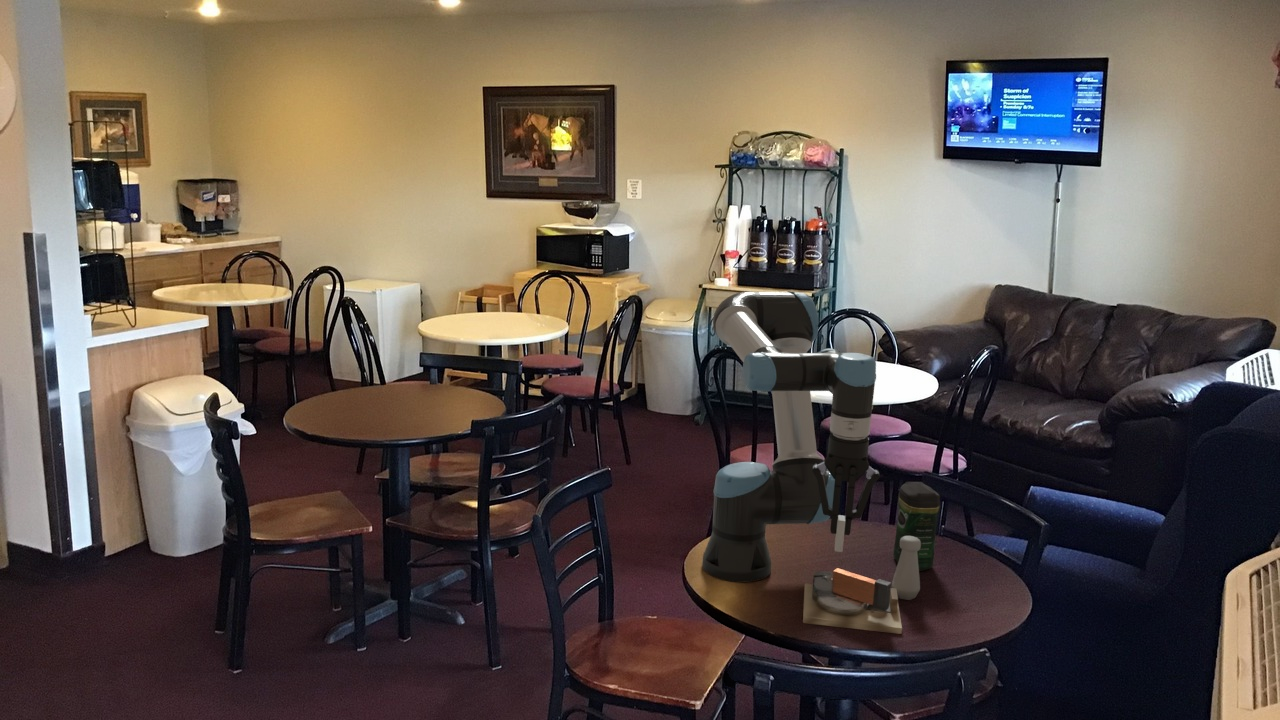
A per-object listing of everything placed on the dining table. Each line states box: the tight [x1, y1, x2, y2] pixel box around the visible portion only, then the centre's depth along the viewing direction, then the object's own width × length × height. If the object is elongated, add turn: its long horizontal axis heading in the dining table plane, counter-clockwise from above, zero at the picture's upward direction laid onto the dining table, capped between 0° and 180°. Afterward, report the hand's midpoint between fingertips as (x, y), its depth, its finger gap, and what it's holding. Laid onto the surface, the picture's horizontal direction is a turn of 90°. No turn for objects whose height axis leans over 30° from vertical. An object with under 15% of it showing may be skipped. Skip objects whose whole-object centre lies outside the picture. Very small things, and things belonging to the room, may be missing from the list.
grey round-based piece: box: [812, 567, 892, 615], centre depth 210 cm, size 10×16×7 cm, turn 52°
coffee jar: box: [892, 481, 941, 572], centre depth 235 cm, size 10×8×19 cm
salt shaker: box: [891, 536, 921, 601], centre depth 219 cm, size 6×6×13 cm
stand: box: [802, 583, 903, 635], centre depth 212 cm, size 19×16×4 cm
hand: (838, 548), depth 205 cm, fingers closed
